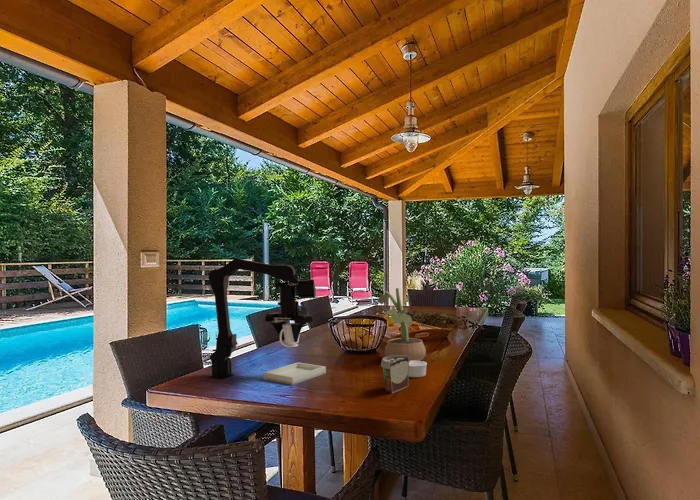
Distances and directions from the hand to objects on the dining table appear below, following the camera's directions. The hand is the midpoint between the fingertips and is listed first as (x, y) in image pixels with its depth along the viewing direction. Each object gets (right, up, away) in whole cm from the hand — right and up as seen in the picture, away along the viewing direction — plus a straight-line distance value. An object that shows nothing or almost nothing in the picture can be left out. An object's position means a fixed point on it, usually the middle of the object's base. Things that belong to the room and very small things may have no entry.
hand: (289, 341), depth 175 cm
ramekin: (+46, -12, -4) cm, 47 cm away
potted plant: (+44, -12, +19) cm, 49 cm away
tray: (+3, -12, -2) cm, 13 cm away
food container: (+36, -12, -20) cm, 43 cm away
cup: (0, -2, 0) cm, 2 cm away
